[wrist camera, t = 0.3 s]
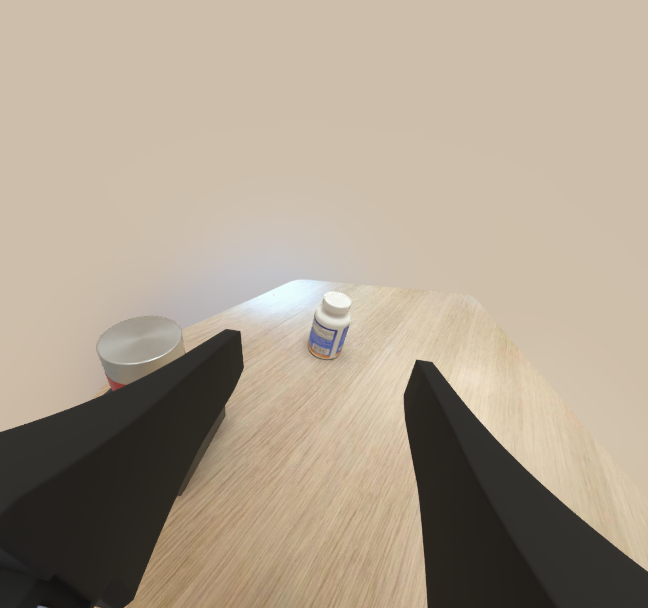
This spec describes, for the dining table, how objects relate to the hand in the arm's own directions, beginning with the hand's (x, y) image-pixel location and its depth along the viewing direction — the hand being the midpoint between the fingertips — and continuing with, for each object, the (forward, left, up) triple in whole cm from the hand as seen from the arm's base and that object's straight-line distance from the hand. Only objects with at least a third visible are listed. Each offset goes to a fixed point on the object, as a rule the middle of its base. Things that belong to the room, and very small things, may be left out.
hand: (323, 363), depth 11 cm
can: (+4, +13, -14) cm, 19 cm away
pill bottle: (+23, 0, -21) cm, 31 cm away
